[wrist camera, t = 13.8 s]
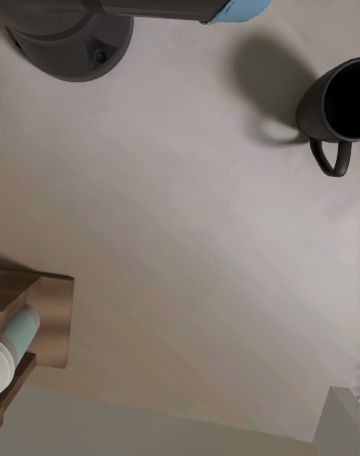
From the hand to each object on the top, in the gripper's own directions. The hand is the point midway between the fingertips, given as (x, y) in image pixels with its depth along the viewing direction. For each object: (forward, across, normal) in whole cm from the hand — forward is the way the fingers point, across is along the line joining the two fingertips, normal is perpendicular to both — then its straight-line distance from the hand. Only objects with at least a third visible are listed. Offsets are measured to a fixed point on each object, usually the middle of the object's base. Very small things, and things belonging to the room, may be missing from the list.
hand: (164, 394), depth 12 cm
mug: (+32, +17, +16) cm, 40 cm away
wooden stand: (+32, -20, -18) cm, 42 cm away
